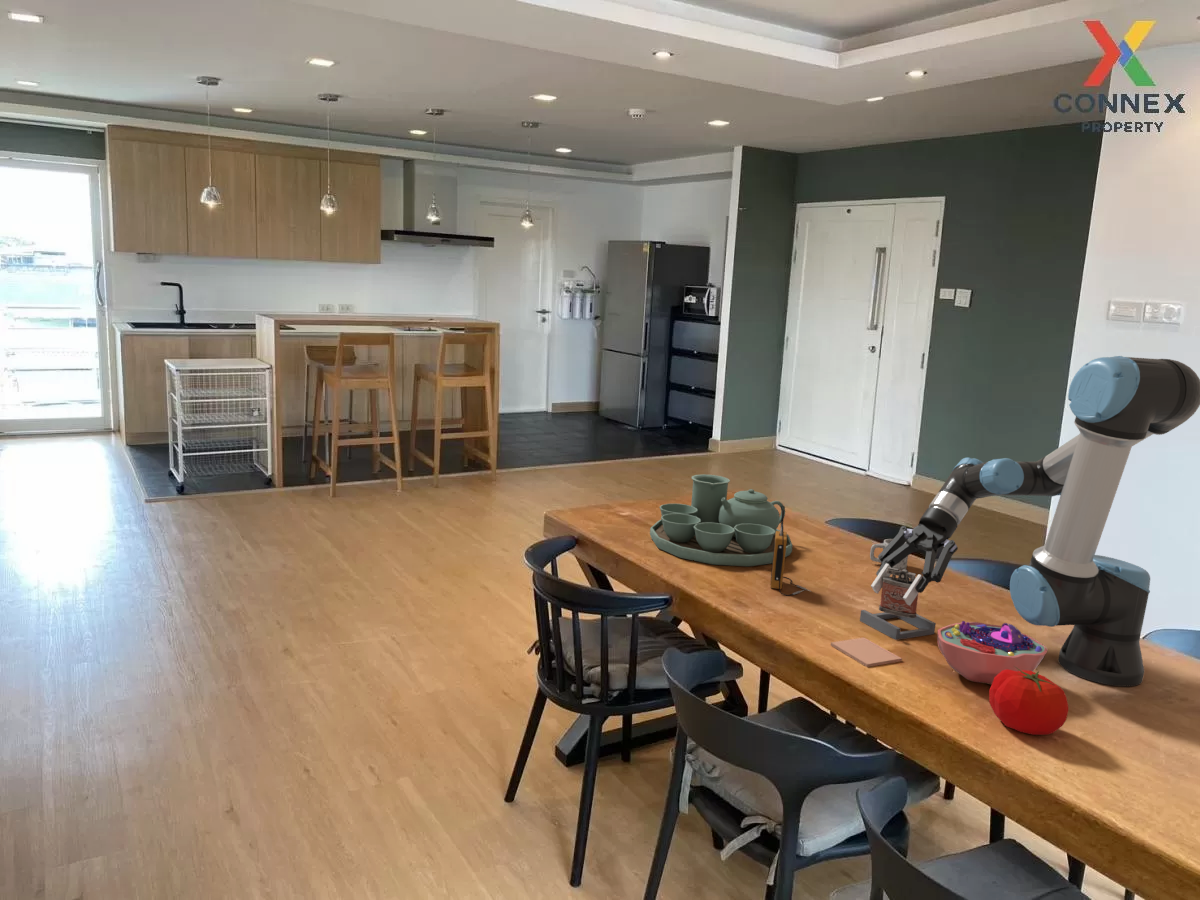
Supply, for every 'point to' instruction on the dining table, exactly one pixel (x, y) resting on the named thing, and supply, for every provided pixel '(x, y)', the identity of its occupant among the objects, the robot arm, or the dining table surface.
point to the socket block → (893, 631)
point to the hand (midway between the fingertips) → (890, 595)
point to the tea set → (720, 525)
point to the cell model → (988, 650)
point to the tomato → (1028, 702)
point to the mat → (866, 652)
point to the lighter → (897, 593)
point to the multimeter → (780, 559)
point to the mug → (900, 565)
